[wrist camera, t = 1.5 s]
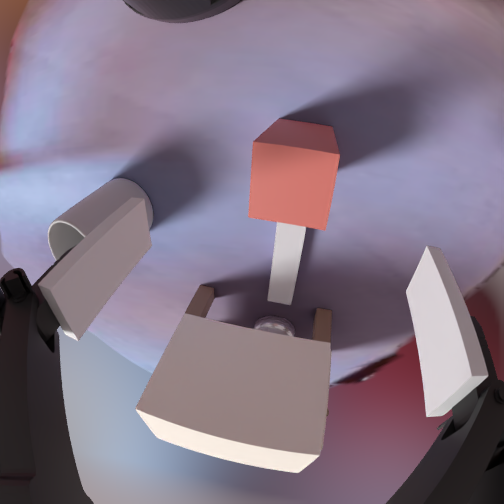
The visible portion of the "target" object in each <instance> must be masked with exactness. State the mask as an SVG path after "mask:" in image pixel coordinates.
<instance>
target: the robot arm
mask: <svg viewBox="0 0 504 504" xmlns="http://www.w3.org/2000/svg"><path fill="white" fill-rule="evenodd" d="M123 1H124V2H125V4H126V5H127V6H128V7H129V8H130V9H132V10H133V11H134V12H136V13H138V14H140V15H142V16H144V17H147V18H150V19H154V20H158V21H162V22H169V23H186V22H193V21H198V20H202V19H205V18H209V17H211V16H214V15H216V14H219V13H221V12H223V11H225V10H227V9H229V8H230V7H232V6H234V5H235V4H237V3H238V2H239V1H241V0H123ZM151 246H152V244H151V238H150V232H149V226H148V220H147V213H146V207H145V200H144V199H142V198H133V197H131V198H130V199H129V200H128V201H127V202H125V203H124V204H123V205H122V206H120V207H119V208H118V209H117V210H116V211H114V212H113V213H112V214H111V215H110V216H109V217H107V218H106V219H105V220H104V221H103V222H102V223H101V224H99V225H98V226H97V227H96V228H95V229H94V230H93V231H92V232H90V233H89V234H88V235H87V236H86V237H85V238H84V239H83V240H82V241H81V242H80V243H79V244H77V245H76V246H74V247H72V248H70V249H69V250H67V251H66V252H65V253H64V254H63V255H62V256H61V257H60V259H58V260H57V261H56V262H55V263H54V265H52V266H51V267H50V268H49V269H48V270H47V271H46V272H45V273H44V274H43V275H42V276H41V277H40V278H39V279H38V280H37V281H36V282H35V283H34V285H33V286H31V284H30V282H29V280H28V278H27V276H26V273H25V271H24V270H23V269H21V268H15V269H13V270H10V271H8V272H7V273H6V274H5V275H4V276H3V277H2V278H1V279H0V287H1V288H0V504H94V503H93V502H92V501H91V499H90V498H89V497H88V496H87V495H86V493H85V492H84V490H83V487H82V485H81V481H80V478H79V474H78V470H77V467H76V463H75V459H74V455H73V451H72V446H71V441H70V437H69V431H68V426H67V419H66V414H65V407H64V399H63V391H62V380H61V368H60V350H59V334H58V332H57V329H58V327H59V326H61V328H62V329H63V331H64V333H65V334H66V335H67V336H70V337H71V338H73V339H75V340H78V341H79V340H80V338H81V337H82V335H83V334H84V333H85V331H86V330H87V328H88V327H89V326H90V324H91V323H92V322H93V320H94V319H95V317H96V316H97V315H98V313H99V312H100V311H101V309H102V308H103V307H104V305H105V304H106V303H107V301H108V300H109V299H110V297H111V296H112V295H113V293H114V292H115V291H116V290H117V288H118V287H119V286H120V284H121V283H122V282H123V281H124V279H125V278H126V277H127V276H128V274H129V273H130V272H131V271H132V269H133V268H134V267H135V266H136V265H137V263H138V262H139V261H140V260H141V258H142V257H143V256H144V255H145V254H146V252H147V251H148V250H149V249H150V248H151ZM1 289H2V290H1ZM2 291H3V292H4V294H3V292H2ZM406 295H407V299H408V303H409V307H410V312H411V316H412V321H413V325H414V330H415V336H416V341H417V346H418V352H419V358H420V365H421V371H422V379H423V387H424V396H425V407H426V417H429V416H443V415H444V414H446V413H447V412H448V411H449V410H450V409H452V412H453V416H452V417H450V418H449V419H448V420H446V421H445V422H444V423H442V424H441V425H440V426H439V427H438V428H437V429H438V430H439V429H441V428H442V427H444V428H443V429H442V431H441V432H440V434H439V436H438V437H437V439H436V440H435V442H434V443H433V445H432V446H431V448H430V449H429V451H428V452H427V453H426V455H425V456H424V458H423V459H422V460H421V462H420V463H419V464H418V466H417V467H416V468H415V470H414V471H413V473H412V474H411V475H410V476H409V477H408V479H407V480H406V481H405V482H404V483H403V485H402V486H401V487H400V488H399V489H398V490H397V492H396V493H395V494H394V495H393V496H392V497H391V498H390V500H389V501H388V502H387V503H386V504H504V382H503V381H501V380H498V379H497V375H496V371H495V367H494V364H493V360H492V357H491V354H490V351H489V349H488V345H487V341H486V340H485V335H484V333H483V330H482V327H481V326H480V324H479V323H478V321H477V320H476V318H475V317H473V316H470V315H469V312H468V309H467V307H466V304H465V302H464V299H463V297H462V294H461V292H460V290H459V287H458V285H457V283H456V280H455V278H454V276H453V274H452V271H451V269H450V267H449V265H448V263H447V261H446V259H445V257H444V255H443V253H442V251H441V249H440V248H436V247H432V246H426V249H425V251H424V253H423V256H422V258H421V260H420V262H419V265H418V267H417V269H416V271H415V273H414V275H413V278H412V280H411V282H410V284H409V286H408V288H407V290H406Z"/></svg>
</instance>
